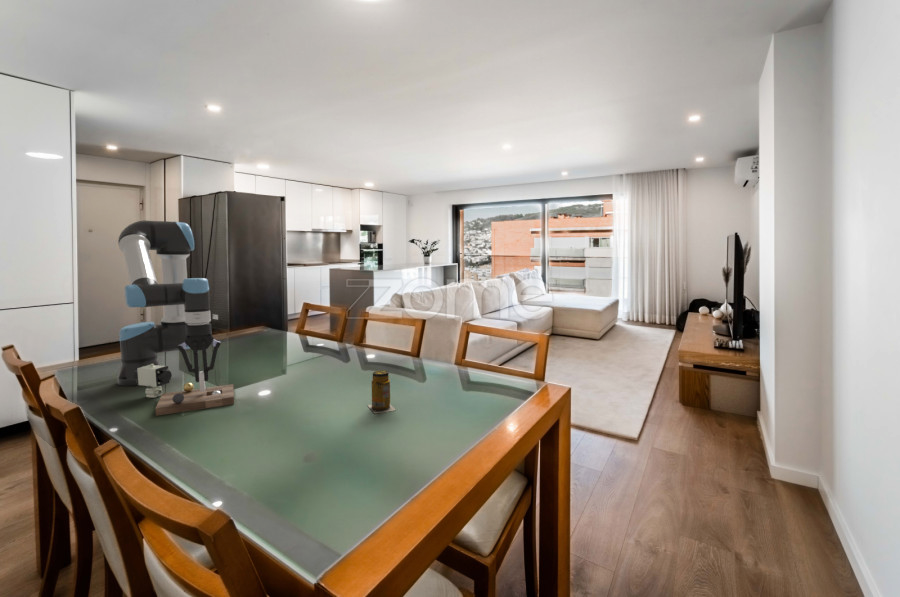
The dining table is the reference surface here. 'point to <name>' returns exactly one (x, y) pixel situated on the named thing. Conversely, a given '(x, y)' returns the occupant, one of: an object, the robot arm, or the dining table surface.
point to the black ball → (178, 398)
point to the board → (195, 400)
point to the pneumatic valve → (152, 378)
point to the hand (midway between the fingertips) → (202, 390)
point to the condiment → (380, 392)
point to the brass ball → (188, 387)
